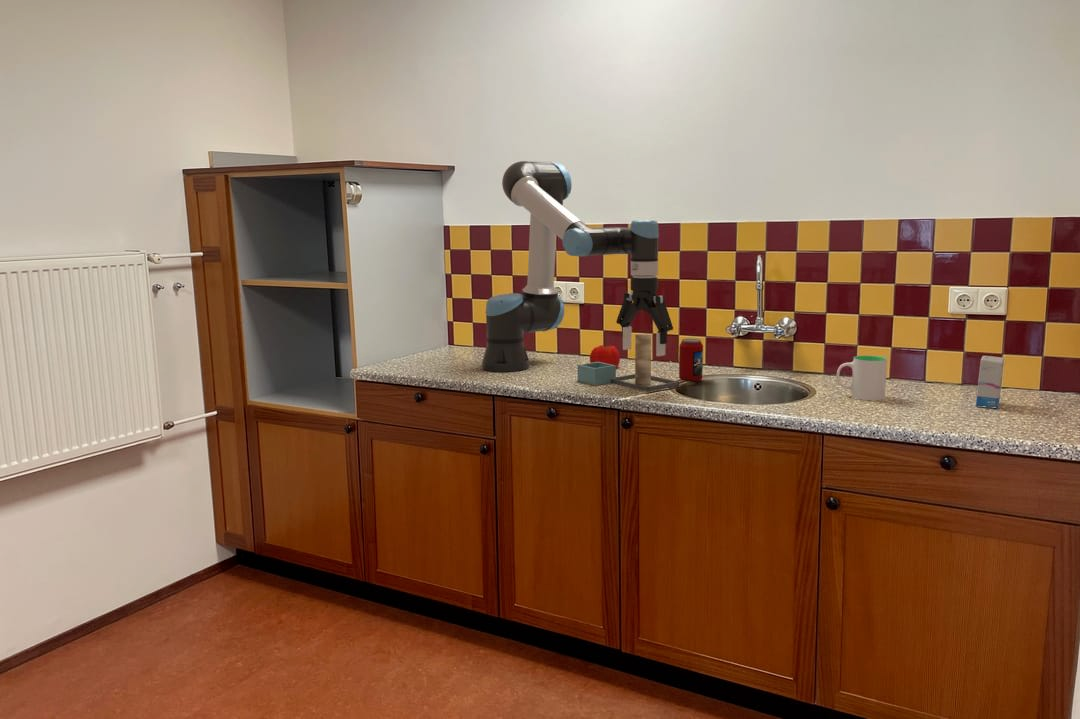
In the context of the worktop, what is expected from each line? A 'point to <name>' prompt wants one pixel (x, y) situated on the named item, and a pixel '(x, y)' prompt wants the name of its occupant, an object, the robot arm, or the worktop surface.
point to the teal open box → (596, 373)
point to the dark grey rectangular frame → (668, 384)
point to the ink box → (989, 381)
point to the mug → (867, 377)
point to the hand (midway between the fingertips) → (643, 352)
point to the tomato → (605, 355)
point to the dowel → (643, 359)
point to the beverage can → (691, 360)
